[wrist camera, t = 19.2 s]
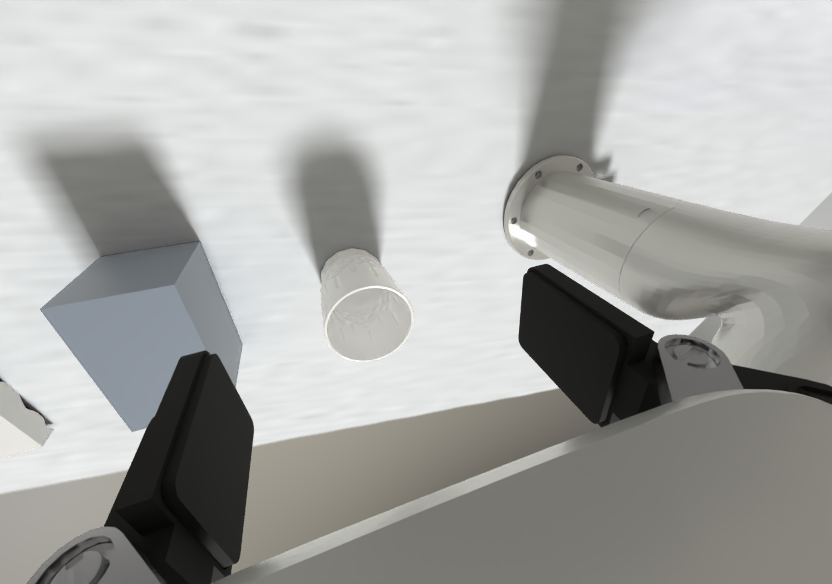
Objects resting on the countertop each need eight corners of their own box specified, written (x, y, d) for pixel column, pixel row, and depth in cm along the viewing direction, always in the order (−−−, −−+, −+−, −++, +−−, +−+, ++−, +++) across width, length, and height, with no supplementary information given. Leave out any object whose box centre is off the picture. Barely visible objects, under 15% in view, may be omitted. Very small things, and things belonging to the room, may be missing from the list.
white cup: (299, 285, 36) (304, 340, 28) (344, 228, 35) (363, 268, 26) (358, 317, 40) (376, 373, 32) (400, 267, 39) (431, 312, 31)
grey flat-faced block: (200, 241, 31) (174, 284, 24) (242, 344, 37) (232, 404, 30) (100, 256, 29) (39, 309, 22) (163, 363, 35) (131, 431, 28)
